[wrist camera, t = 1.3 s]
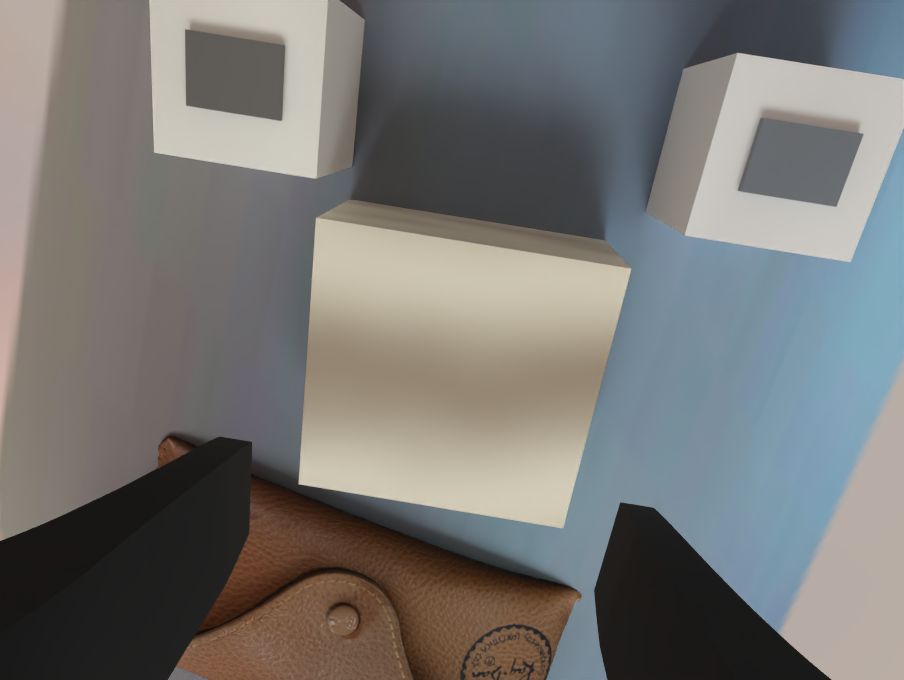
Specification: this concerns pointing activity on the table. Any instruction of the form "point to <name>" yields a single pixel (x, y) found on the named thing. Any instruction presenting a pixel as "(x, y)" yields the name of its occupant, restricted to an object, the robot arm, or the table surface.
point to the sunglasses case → (366, 603)
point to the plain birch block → (454, 359)
